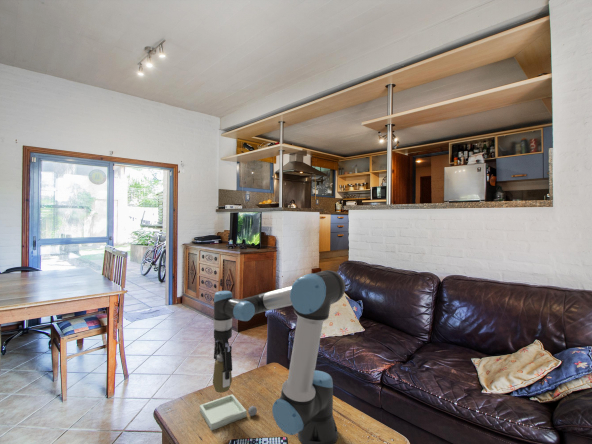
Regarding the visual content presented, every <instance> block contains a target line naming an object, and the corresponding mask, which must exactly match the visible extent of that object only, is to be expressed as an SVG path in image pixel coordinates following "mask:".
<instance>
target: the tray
mask: <svg viewBox="0 0 592 444" xmlns="http://www.w3.org/2000/svg"><path fill="white" fill-rule="evenodd" d="M199 413H200V414H201V415H202V418H203V419H204V421H205V423H206V424H207V425H208V428H209V429H210V431H211V432H212V431H213V430H216V429H219V428H221V427H224V426H226V425H228V424H229V425H230V424H232V423H234V422H236V421H239V420H242V419H245V418H247V414H248V410H247V409H246V408H245V407H244V406H243V405H242V403H241V402H240V401H239V400H238V398H237V397H236V396H235V395H234V394H230V395H229V394H228V395H226V396H223V397H220V398H217V399H214V400H211V401H209V402H205V403H202V404H199Z"/></svg>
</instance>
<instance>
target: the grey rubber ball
mask: <svg viewBox="0 0 592 444" xmlns="http://www.w3.org/2000/svg"><path fill="white" fill-rule="evenodd" d="M257 412H258V411H257V407H256V406H254V405H250V406H249V407H248V410H247V414H248V415H249V416H250V417H253V416H256V414H257Z"/></svg>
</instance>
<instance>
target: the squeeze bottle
mask: <svg viewBox="0 0 592 444" xmlns="http://www.w3.org/2000/svg"><path fill="white" fill-rule="evenodd" d="M223 352H225V351H223ZM222 371H224V367H223V359H222V354H221V353H220V354H219V355H217V360H216V361H215V360H214V366H213V377H212V386H213V387H214V388H213V389H214V390H215V392H216V393H225V392H226V393H227V392H228V391H229V390H230V388H231V385H232V382H233V377H232V376H233V375H232V371H230V386H227V387H224V388H223V372H222Z"/></svg>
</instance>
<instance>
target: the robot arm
mask: <svg viewBox="0 0 592 444" xmlns="http://www.w3.org/2000/svg"><path fill="white" fill-rule="evenodd" d="M345 291H346V284H345V281H344V278H343V277H342V276H341V274H339V273H338V272H336V271H334V270H330V269H329V270H322V271H317V272H314V273H307V274H305V275H302V276H300V277H298V278H296V280H294V282H293V283H292V285H289V286H285V287H283V288H278V289H274V290H271V291H267V292H262V293H259V294H255V295H252V296H248V297H245V298H240V299H239V298H234V297H233V292H231V291H230V290H219V291H216V292H215V293H214V297H213V339H214V349H213V350H214V351H213V360H214V362H215V361H216V360H217V355H219V354H220V353H221V354H222V359H223V367H224V371H222V372H223V388H224V387H227V386H230V387H231V385H230V371H231V372H232V371H233V357H232V356H233V355H232V349H233V348H232V347H233V346H232V345H230V343H229V339H231V338H232V336H233V328H232V327H233V320H234V319H236V320H238V321H242V322H248V321H250V320H251V319H252V318H253V316H255V315H257V314H260V313H263V312H266V311H267V312H268V311H272V310H277V309H280V308H281V309H282V308H285V307H290V306H292V307H293V308H294V309H293V312H294V314H295V315H296V316H297V319H296V326H295V332H294V337H293V338H294V339H293V345H292V350H291V351H292V352H291V356H290V364H289V369H288V376H287V379H286V380H285V381H284V382H283V383H282V386H281V391H280V396H279V398H277V399H276V400H275V401H274V402H273V404H272V408H271V409H272V411H271V412H272V413H271V414H272V417H273V419H274V421H275V423H276V425H277V426H278V428H279V429H280V430H281V431H282V432H283V433H285V434H286V435H289V436H293V435H294V436H295V435H297V438H298V440H299V442H300V443H301V444H335V443H336V442H337V441H338V427H337V424H336V421H335V417H334V411H333V410H334V409H333V408H334V407H333V406H334V405H333V403H334V392H333V391H334V384H333V378H332V376H331V375H330V374H329V373H327V372H325V371H322V370H317V369H316V366H317V359H318V355H319V348H320V341H321V336H322V330H323V324H324V322H325V321H326V320H328V319H329V316H330V312H331V311H330V310H331V305H333V304H335V303H337V302H339V301H340V300H341V299H342V298H343V296H344V294H345ZM223 351H225V352H223Z"/></svg>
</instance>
